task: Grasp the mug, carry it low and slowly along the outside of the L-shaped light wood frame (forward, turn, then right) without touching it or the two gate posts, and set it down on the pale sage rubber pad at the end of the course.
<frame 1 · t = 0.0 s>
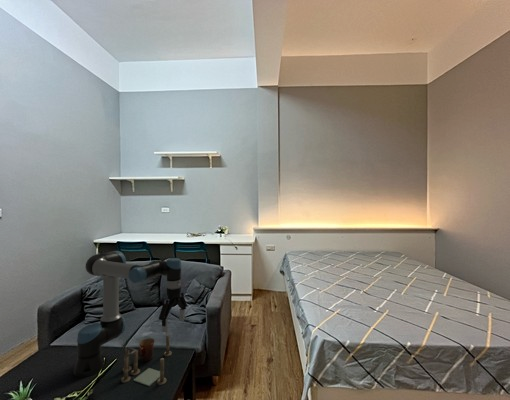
hand: (173, 326, 146), 28 cm above the table, fingers open, 13 cm apart
gate post right: (161, 381, 143), on the table
mug: (145, 360, 162), on the table
pad: (149, 377, 146), on the table
light wood frame: (135, 372, 150), on the table
gate post far: (167, 354, 168), on the table
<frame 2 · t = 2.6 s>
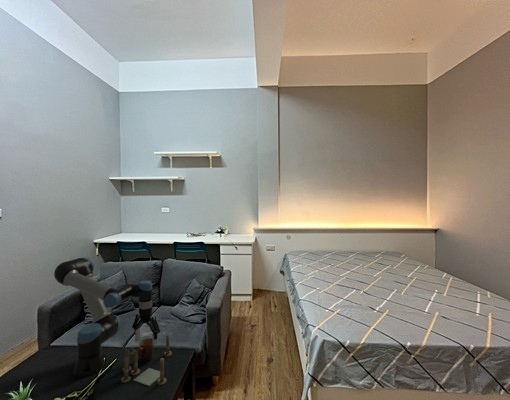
hand: (145, 342, 162), 11 cm above the table, fingers open, 13 cm apart
nothing on the table moved.
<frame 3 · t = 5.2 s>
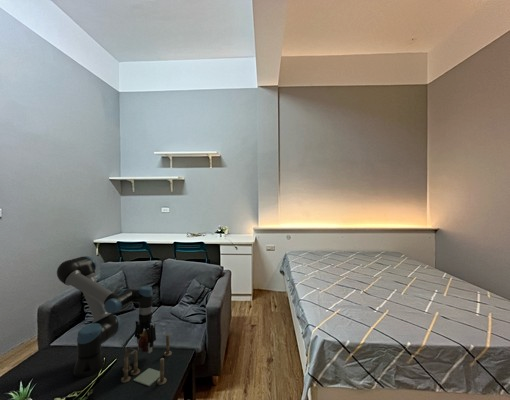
hand: (145, 350, 162), 6 cm above the table, fingers closed on mug, 7 cm apart
mug: (145, 351, 162), point 5 cm above the table, touching gripper
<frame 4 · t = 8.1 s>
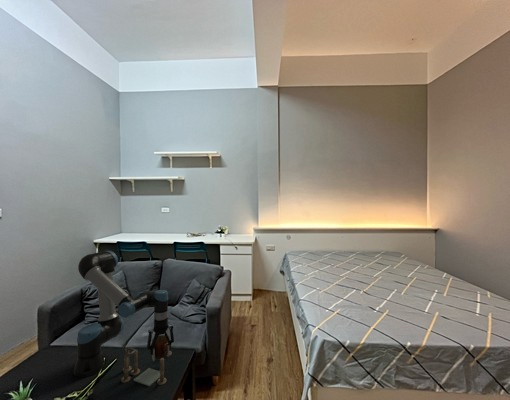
hand: (160, 357, 154), 6 cm above the table, fingers closed on mug, 7 cm apart
mug: (161, 358, 155), point 6 cm above the table, touching gripper
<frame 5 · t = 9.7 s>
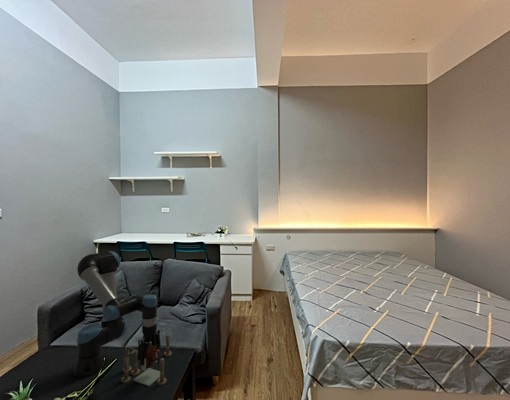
hand: (149, 365, 146), 6 cm above the table, fingers closed on mug, 7 cm apart
mug: (149, 366, 147), point 6 cm above the table, touching gripper
when the fingers open (1 cm above the table, at t = 11.2 s): mug stays where it is, resting on pad.
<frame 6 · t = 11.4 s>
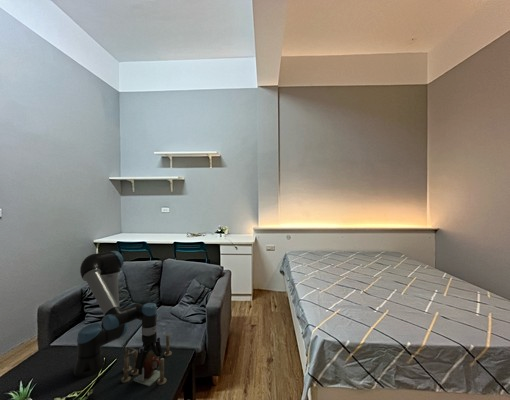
hand: (149, 373, 146), 2 cm above the table, fingers open, 10 cm apart
mug: (149, 376, 146), resting on pad
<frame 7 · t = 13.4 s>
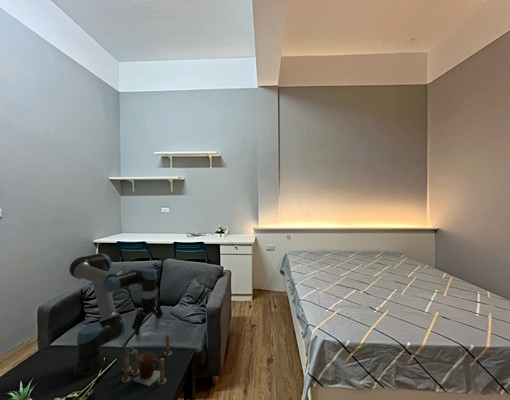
hand: (147, 334, 151), 21 cm above the table, fingers open, 13 cm apart
nothing on the table moved.
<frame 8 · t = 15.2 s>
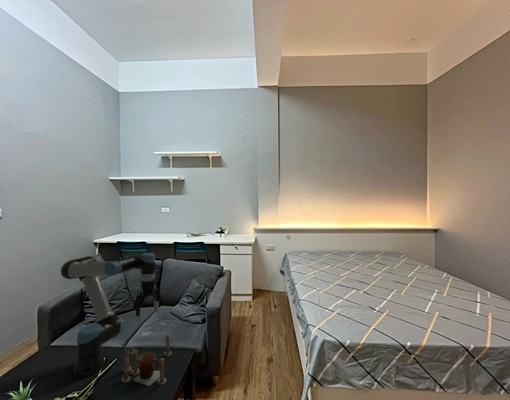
hand: (148, 316, 157), 29 cm above the table, fingers open, 13 cm apart
nothing on the table moved.
at the end: mug inside the target area on the pad (0.3 cm from its centre), point 0.4 cm above the pad's base; mug tilted 0°; the gripper is holding nothing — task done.
